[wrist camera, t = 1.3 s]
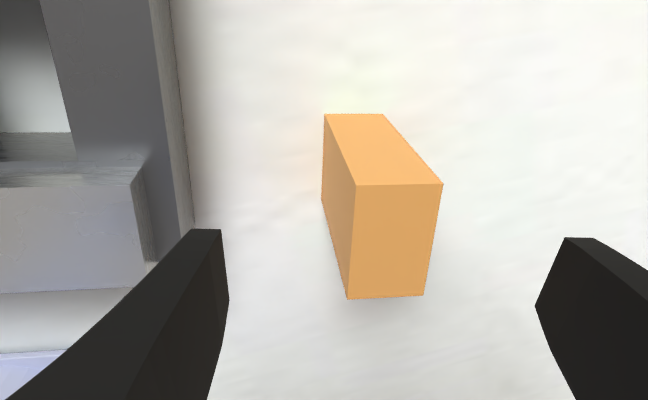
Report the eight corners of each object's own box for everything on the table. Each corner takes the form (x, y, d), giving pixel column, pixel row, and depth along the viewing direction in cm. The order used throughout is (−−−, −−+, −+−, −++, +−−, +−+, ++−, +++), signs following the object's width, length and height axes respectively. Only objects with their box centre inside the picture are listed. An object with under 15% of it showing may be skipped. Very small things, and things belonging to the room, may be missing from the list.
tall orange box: (374, 197, 20) (422, 295, 14) (321, 198, 20) (347, 299, 14) (382, 114, 18) (443, 183, 12) (324, 113, 18) (356, 185, 12)
